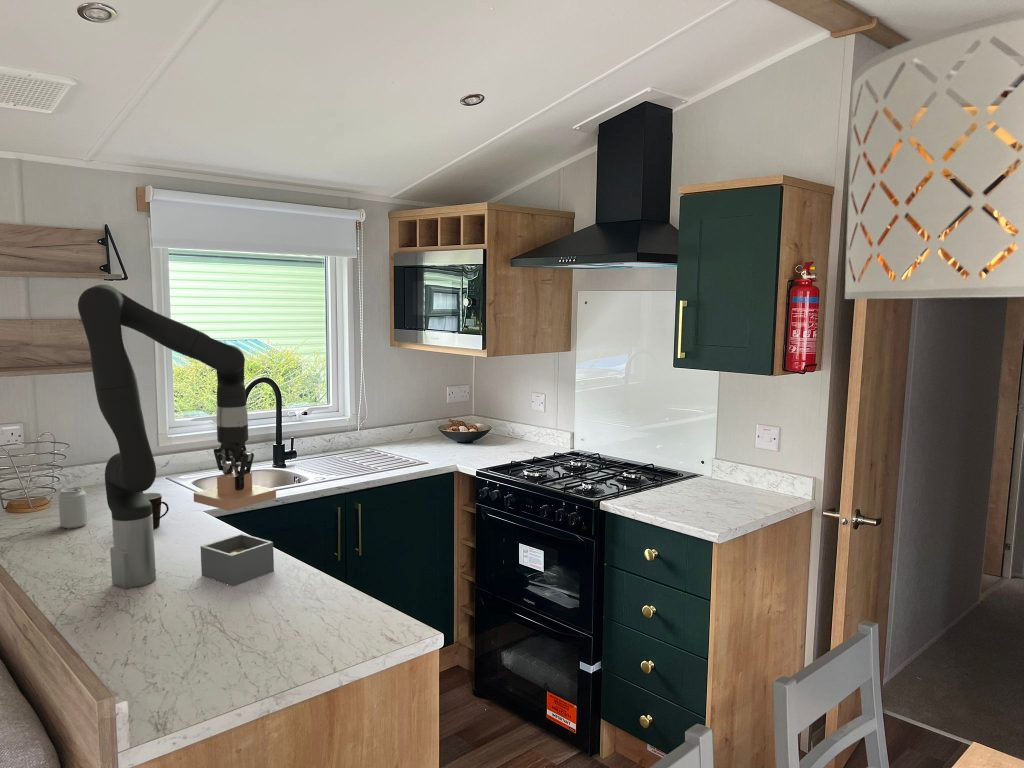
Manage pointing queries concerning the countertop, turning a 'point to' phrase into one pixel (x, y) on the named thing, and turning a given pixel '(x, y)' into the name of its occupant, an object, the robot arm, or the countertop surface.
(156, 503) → the coffee mug
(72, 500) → the can
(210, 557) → the storage box
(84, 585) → the countertop surface
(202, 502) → the lid
